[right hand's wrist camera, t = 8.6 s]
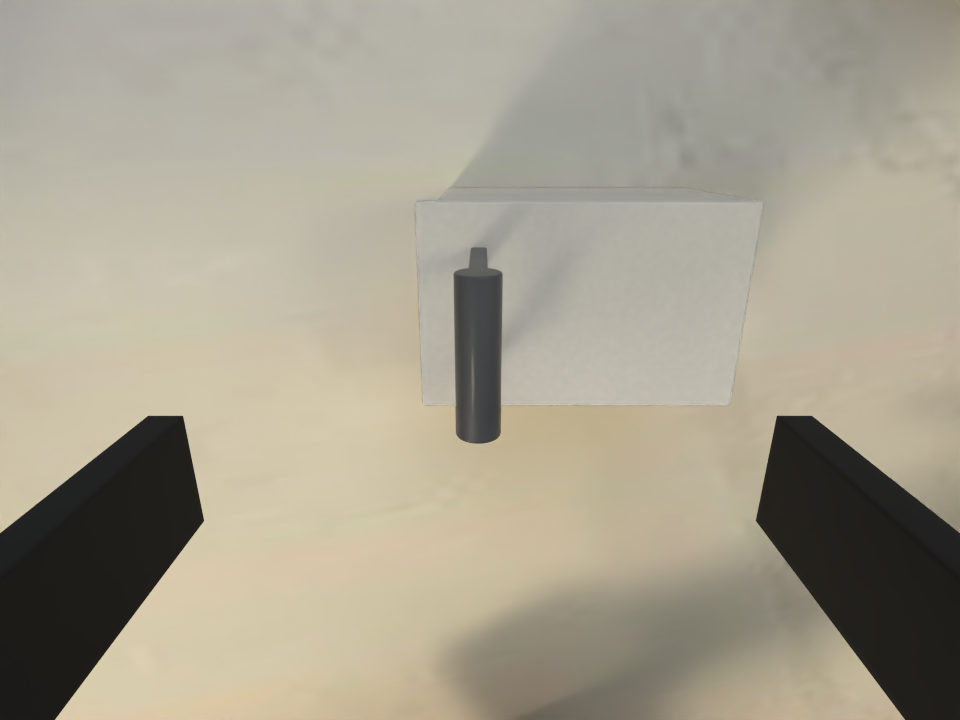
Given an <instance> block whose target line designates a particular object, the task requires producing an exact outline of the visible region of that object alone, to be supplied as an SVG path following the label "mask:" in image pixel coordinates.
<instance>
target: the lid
mask: <svg viewBox="0 0 960 720" xmlns="http://www.w3.org/2000/svg"><path fill="white" fill-rule="evenodd" d="M763 206H764V203H763V202H761V201H755V200H418V201H416V202H415V227H416V252H417V278H418V304H419V330H420V356H421V381H422V404H423V405H424V406H456V434H457V436H458V437H459V438H460V439H461V440H463V441H465V442H469V443H488V442H491V441H494V440H496V439H497V438H498V437H499V435H500V433H501V406H730V402H731V396H732V390H733V384H734V378H735V372H736V366H737V360H738V354H739V348H740V343H741V337H742V331H743V325H744V319H745V313H746V307H747V301H748V295H749V289H750V283H751V277H752V271H753V265H754V259H755V253H756V247H757V241H758V235H759V229H760V223H761V217H762V211H763Z"/></svg>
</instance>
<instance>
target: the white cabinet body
mask: <svg viewBox="0 0 960 720" xmlns="http://www.w3.org/2000/svg"><path fill="white" fill-rule="evenodd" d="M439 200H750V199H745V198H739V197H733V196H727V195H721V194H716V193H710V192H704V191H698V190H693V189H687V188H449V189H448V190H447V191H446V192H445V193H444V194H443V195H442V196H441V198H440V199H439Z"/></svg>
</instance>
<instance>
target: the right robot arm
mask: <svg viewBox="0 0 960 720" xmlns="http://www.w3.org/2000/svg"><path fill="white" fill-rule="evenodd" d="M203 521H204V518H203V513H202V508H201V503H200V498H199V493H198V488H197V483H196V478H195V473H194V468H193V463H192V458H191V453H190V449H189V444H188V439H187V434H186V429H185V424H184V419H183V416H148V417H146V418H145V419H144V420H143V421H141V422H140V423H139V424H137V425H136V426H135V427H134V428H132V429H131V430H130V431H129V432H127V433H126V434H125V435H124V436H122V437H121V438H120V439H119V440H117V441H116V442H115V443H114V444H112V445H111V446H110V447H108V448H107V449H106V450H105V451H103V452H102V453H101V454H100V455H98V456H97V457H96V458H95V459H93V460H92V461H91V462H90V463H88V464H87V465H86V466H84V467H83V468H82V469H81V470H79V471H78V472H77V473H76V474H74V475H73V476H72V477H71V478H69V479H68V480H67V481H66V482H64V483H63V484H62V485H61V486H59V487H58V488H57V489H55V490H54V491H53V492H52V493H50V494H49V495H48V496H47V497H45V498H44V499H43V500H42V501H40V502H39V503H38V504H37V505H35V506H34V507H33V508H32V509H30V510H29V511H28V512H26V513H25V514H24V515H23V516H21V517H20V518H19V519H18V520H16V521H15V522H14V523H13V524H11V525H10V526H9V527H8V528H6V529H5V530H4V531H2V532H1V533H0V720H55V719H56V717H57V716H58V715H59V713H60V712H61V711H62V709H63V708H64V707H65V705H66V704H67V703H68V701H69V700H70V699H71V697H72V696H73V695H74V693H75V692H76V691H77V689H78V688H79V687H80V685H81V684H82V683H83V681H84V680H85V679H86V677H87V676H88V675H89V673H90V672H91V671H92V669H93V668H94V667H95V665H96V664H97V663H98V661H99V660H100V659H101V657H102V656H103V655H104V653H105V652H106V651H107V649H108V648H109V647H110V645H111V644H112V643H113V641H114V640H115V639H116V637H117V636H118V635H119V633H120V632H121V631H122V629H123V628H124V627H125V625H126V624H127V623H128V621H129V620H130V619H131V617H132V616H133V615H134V613H135V612H136V611H137V609H138V608H139V607H140V605H141V604H142V603H143V601H144V600H145V599H146V597H147V596H148V595H149V593H150V592H151V591H152V589H153V588H154V587H155V585H156V584H157V583H158V581H159V580H160V579H161V577H162V576H163V575H164V573H165V572H166V571H167V569H168V568H169V567H170V565H171V564H172V563H173V561H174V560H175V559H176V557H177V556H178V555H179V553H180V552H181V551H182V549H183V548H184V547H185V545H186V544H187V543H188V541H189V540H190V539H191V537H192V536H193V535H194V533H195V532H196V531H197V529H198V528H199V527H200V525H201V524H202V523H203ZM756 521H757V523H758V524H759V525H760V527H761V528H762V529H763V531H764V532H765V533H766V535H767V536H768V537H769V539H770V540H771V541H772V543H773V544H774V545H775V547H776V548H777V549H778V551H779V552H780V553H781V555H782V556H783V557H784V559H785V560H786V561H787V563H788V564H789V565H790V567H791V568H792V569H793V571H794V572H795V573H796V575H797V576H798V577H799V579H800V580H801V581H802V583H803V584H804V585H805V587H806V588H807V589H808V591H809V592H810V593H811V595H812V596H813V597H814V599H815V600H816V601H817V603H818V604H819V605H820V607H821V608H822V609H823V611H824V612H825V613H826V615H827V616H828V617H829V619H830V620H831V621H832V623H833V624H834V625H835V627H836V628H837V629H838V631H839V632H840V633H841V635H842V636H843V637H844V639H845V640H846V641H847V643H848V644H849V645H850V647H851V648H852V649H853V651H854V652H855V653H856V655H857V656H858V657H859V659H860V660H861V661H862V663H863V664H864V665H865V667H866V668H867V669H868V671H869V672H870V673H871V675H872V676H873V677H874V679H875V680H876V681H877V683H878V684H879V685H880V687H881V688H882V689H883V691H884V692H885V693H886V695H887V696H888V697H889V699H890V700H891V701H892V703H893V704H894V705H895V707H896V708H897V709H898V711H899V712H900V713H901V715H902V716H903V717H904V719H905V720H960V533H959V532H958V531H956V530H955V529H954V528H952V527H951V526H950V525H949V524H947V523H946V522H945V521H944V520H942V519H941V518H940V517H939V516H937V515H936V514H935V513H934V512H932V511H931V510H930V509H928V508H927V507H926V506H925V505H923V504H922V503H921V502H920V501H918V500H917V499H916V498H915V497H913V496H912V495H911V494H910V493H908V492H907V491H906V490H905V489H903V488H902V487H901V486H899V485H898V484H897V483H896V482H894V481H893V480H892V479H891V478H889V477H888V476H887V475H886V474H884V473H883V472H882V471H881V470H879V469H878V468H877V467H876V466H874V465H873V464H872V463H870V462H869V461H868V460H867V459H865V458H864V457H863V456H862V455H860V454H859V453H858V452H857V451H855V450H854V449H853V448H852V447H850V446H849V445H848V444H846V443H845V442H844V441H843V440H841V439H840V438H839V437H838V436H836V435H835V434H834V433H833V432H831V431H830V430H829V429H828V428H826V427H825V426H824V425H823V424H821V423H820V422H819V421H817V420H816V419H815V418H814V417H812V416H777V419H776V424H775V429H774V434H773V439H772V444H771V449H770V453H769V458H768V463H767V468H766V473H765V478H764V483H763V488H762V493H761V498H760V503H759V508H758V513H757V518H756Z"/></svg>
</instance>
